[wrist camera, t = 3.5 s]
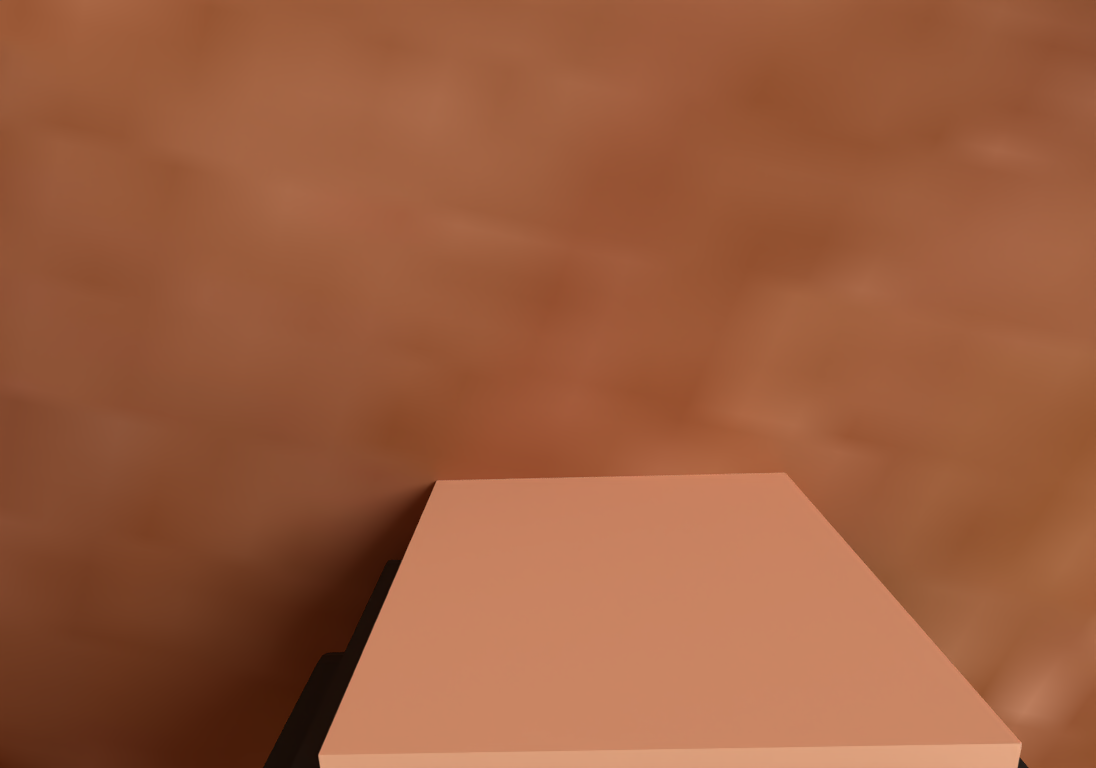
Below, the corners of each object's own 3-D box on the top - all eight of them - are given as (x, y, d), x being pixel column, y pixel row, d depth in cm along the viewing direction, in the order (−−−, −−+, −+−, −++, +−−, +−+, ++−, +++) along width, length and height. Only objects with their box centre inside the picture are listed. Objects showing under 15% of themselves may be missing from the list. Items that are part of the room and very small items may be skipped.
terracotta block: (766, 760, 11) (937, 1206, 6) (458, 765, 11) (381, 1208, 6) (785, 472, 10) (1022, 743, 5) (436, 480, 10) (318, 755, 5)
